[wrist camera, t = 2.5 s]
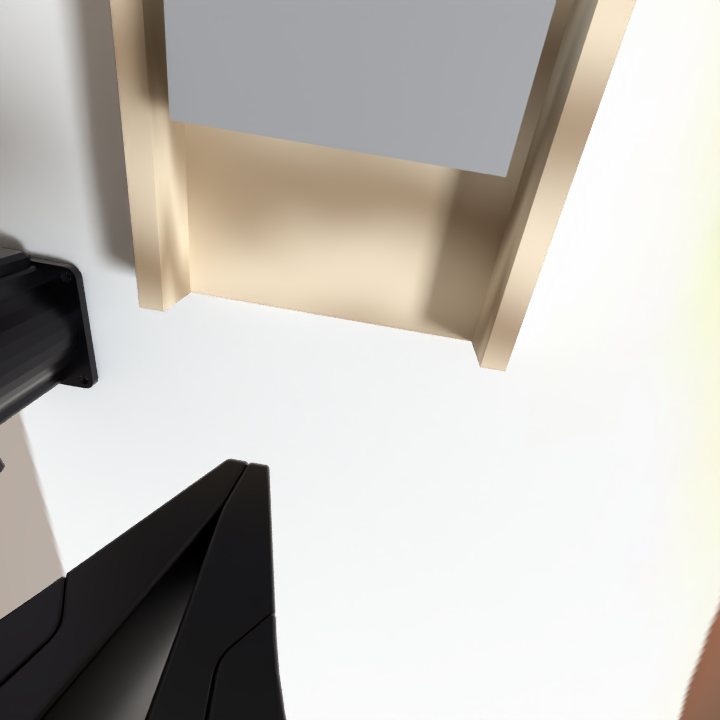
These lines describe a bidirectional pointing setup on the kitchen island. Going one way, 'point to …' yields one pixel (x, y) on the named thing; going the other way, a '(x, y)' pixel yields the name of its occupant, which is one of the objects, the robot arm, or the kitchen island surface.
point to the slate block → (361, 73)
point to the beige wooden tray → (357, 199)
